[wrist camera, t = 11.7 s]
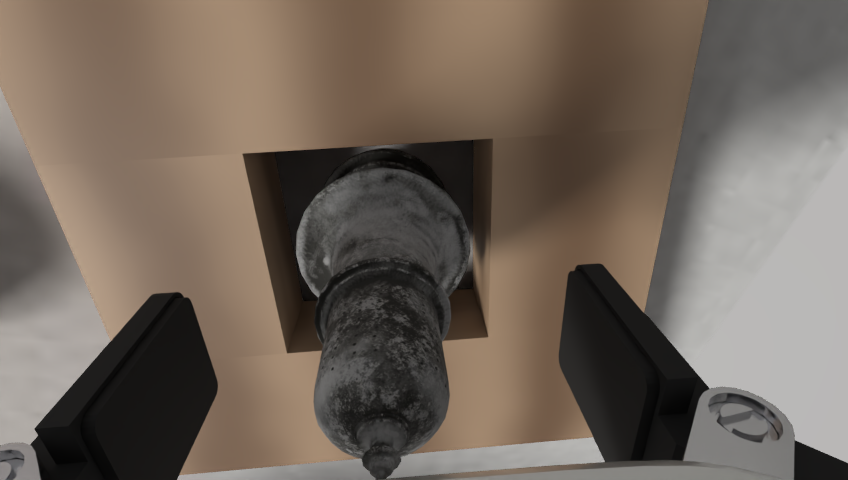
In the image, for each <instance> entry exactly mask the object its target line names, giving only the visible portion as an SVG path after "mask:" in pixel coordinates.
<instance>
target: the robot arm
mask: <svg viewBox="0 0 848 480" xmlns="http://www.w3.org/2000/svg"><path fill="white" fill-rule="evenodd" d="M559 364H560V368H561V370H562V372H563V374H564V377H565V379H566V381H567V383H568V385H569V387H570V389H571V391H572V393H573V395H574V398H575V400H576V402H577V404H578V406H579V408H580V410H581V412H582V414H583V416H584V419H585V421H586V423H587V425H588V427H589V429H590V431H591V433H592V435H593V437H594V439H595V442H596V444H597V446H598V448H599V450H600V452H601V454H602V456H603V458H604V460H605V462H603V463H587V464H571V465H555V466H541V467H529V468H516V469H503V470H490V471H478V472H465V473H452V474H439V475H427V476H415V477H403V478H391V479H379V480H848V463H846V462H844V461H841V460H839V459H837V458H834V457H832V456H830V455H828V454H825V453H823V452H820V451H818V450H816V449H814V448H811V447H809V446H806V445H804V444H802V443H800V442H797V441H795V438H794V437H795V435H794V431H793V427H792V424H791V423H790V422H789V420H788V419H787V417H786V416H785V415H784V414H783V413H782V412H781V411H780V410H779V409H778V408H777V407H775V406H774V405H773V404H771V403H769V402H768V401H766V400H765V399H763V398H762V397H759V396H756V395H755V394H752V393H750V392H748V391H744V390H740V389H737V388H730V387H716V388H711V389H709V387H708V386H707V385H706V384H705V383H704V382H703V380H702V379H701V378H700V377H699V376H698V375H697V373H696V372H695V371H694V370H693V369H692V367H691V366H690V365H689V364H688V363H687V362H686V360H685V359H684V358H683V357H682V356H681V355H680V353H679V352H678V351H677V350H676V349H675V347H674V346H673V345H672V344H671V343H670V342H669V340H668V339H667V338H666V337H665V336H664V335H663V333H662V332H661V331H660V330H659V329H658V328H657V326H656V325H655V324H654V323H653V322H652V321H651V319H650V318H649V317H648V316H647V315H646V314H644V313H643V311H642V310H641V309H640V308H639V307H638V306H637V304H636V303H635V302H634V301H633V300H632V299H631V297H630V296H629V295H628V294H627V293H626V291H625V290H624V289H623V288H622V287H621V286H620V284H619V283H618V282H617V281H616V280H615V278H614V277H613V276H612V275H611V274H610V273H609V271H608V270H607V269H606V268H605V267H604V265H602V264H600V263H597V264H582V265H577V266H576V268H575V271H570V272H569V274H568V279H567V287H566V296H565V304H564V312H563V321H562V329H561V338H560V346H559ZM217 391H218V381H217V378H216V374H215V371H214V368H213V365H212V362H211V359H210V356H209V353H208V350H207V347H206V344H205V341H204V338H203V335H202V332H201V329H200V326H199V323H198V320H197V317H196V314H195V311H194V308H193V305H192V302H191V300H190V299H189V298H187V297H184V296H183V295H182V294H181V293H180V292H171V293H156V294H152V295H151V296H150V297H149V298H148V299H147V300H146V302H145V303H144V304H143V305H142V306H141V307H140V308H139V310H138V311H137V312H136V313H135V314H134V315H133V316H132V318H131V319H130V320H129V321H128V322H127V323H126V324H125V326H124V327H123V328H122V329H121V330H120V331H119V333H118V334H117V335H116V336H115V337H114V338H113V339H112V341H111V342H110V343H109V344H108V345H107V346H106V347H105V349H104V350H103V351H102V352H101V353H100V354H99V355H98V357H97V358H96V359H95V360H94V361H93V362H92V363H91V365H90V366H89V367H88V368H87V369H86V370H85V371H84V373H83V374H82V375H81V376H80V377H79V378H78V379H77V381H76V382H75V383H74V384H73V385H72V386H71V388H70V389H69V390H68V391H67V392H66V393H65V394H64V396H63V397H62V398H61V399H60V400H59V401H58V402H57V404H56V405H55V406H54V407H53V408H52V409H51V410H50V412H49V413H48V414H47V415H46V416H45V417H44V418H43V420H42V421H41V422H40V423H39V424H38V425H37V426H36V428H35V431H36V432H37V434H38V436H37V438H36V439H35V440H34V441H33V442H32V444H31V445H28V444H26V443H8V444H4V445H0V480H177V478H178V476H179V474H180V472H181V470H182V468H183V466H184V463H185V461H186V459H187V457H188V455H189V453H190V451H191V448H192V446H193V444H194V442H195V440H196V438H197V436H198V434H199V431H200V429H201V427H202V425H203V423H204V421H205V419H206V416H207V414H208V412H209V410H210V408H211V406H212V404H213V401H214V399H215V397H216V395H217Z"/></svg>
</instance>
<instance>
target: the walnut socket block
mask: <svg viewBox="0 0 848 480" xmlns="http://www.w3.org/2000/svg"><path fill="white" fill-rule="evenodd" d="M708 2H709V0H0V87H1V89H2V92H3V94H4V96H5V99H6V101H7V103H8V106H9V108H10V110H11V112H12V115H13V117H14V119H15V122H16V124H17V126H18V129H19V131H20V133H21V135H22V138H23V140H24V142H25V145H26V147H27V149H28V152H29V154H30V156H31V158H32V161H33V163H34V165H35V168H36V170H37V172H38V175H39V177H40V179H41V181H42V184H43V186H44V188H45V191H46V193H47V195H48V198H49V200H50V202H51V204H52V207H53V209H54V211H55V214H56V216H57V218H58V221H59V223H60V225H61V227H62V230H63V232H64V234H65V237H66V239H67V241H68V244H69V246H70V248H71V250H72V253H73V255H74V257H75V260H76V262H77V264H78V267H79V269H80V271H81V273H82V276H83V278H84V280H85V283H86V285H87V287H88V290H89V292H90V294H91V296H92V299H93V301H94V303H95V306H96V308H97V310H98V313H99V315H100V317H101V319H102V322H103V324H104V326H105V329H106V331H107V333H108V336H109V338H110V340H111V341H112V339H113V338H114V337H115V336H116V335H117V334H118V333H119V331H120V330H121V329H122V328H123V327H124V326H125V324H126V323H127V322H128V321H129V320H130V319H131V318H132V316H133V315H134V314H135V313H136V312H137V311H138V310H139V308H140V307H141V306H142V305H143V304H144V303H145V302H146V300H147V299H148V298H149V297H150V296H151V295H152V294H156V293H171V292H180V293H181V294H182V295H183V296H184V297H187V298H189V299H190V300H191V302H192V305H193V308H194V311H195V314H196V317H197V320H198V323H199V326H200V329H201V332H202V335H203V338H204V341H205V344H206V347H207V350H208V353H209V356H210V359H211V362H212V365H213V368H214V371H215V374H216V378H217V381H218V391H217V395H216V397H215V399H214V401H213V404H212V406H211V408H210V410H209V412H208V414H207V416H206V419H205V421H204V423H203V425H202V427H201V429H200V431H199V434H198V436H197V438H196V440H195V442H194V444H193V446H192V448H191V451H190V453H189V455H188V457H187V459H186V461H185V463H184V466H183V468H182V470H181V472H180V474H179V475H185V474H196V473H207V472H218V471H229V470H240V469H251V468H262V467H273V466H283V465H294V464H305V463H316V462H327V461H338V460H349V459H360V458H356V457H353V456H351V455H349V454H346V453H344V452H342V451H341V450H340V449H338V448H337V447H336V446H335V445H333V444H332V443H331V442H330V441H329V439H328V438H327V437H326V436H325V434H324V433H323V431H322V430H321V429H320V427H319V426H318V423H317V419H316V416H315V412H314V402H313V401H314V388H315V383H316V378H317V373H318V368H319V363H320V358H321V353H322V348H323V344H322V343H321V341H320V339H319V338H318V336H317V332H316V328H315V324H314V316H315V306H316V303H317V300H315V301H303V299H302V293H301V288H300V283H299V278H298V273H297V267H296V262H295V257H294V252H293V246H292V241H291V236H290V231H289V226H288V220H287V215H286V210H285V205H284V200H283V194H282V189H281V184H280V179H279V173H278V168H277V163H276V158H275V153H274V152H277V151H293V150H310V149H327V148H343V147H360V146H377V145H393V144H410V143H426V142H443V141H460V140H474V162H473V289H461V290H454V292H453V293H452V294H451V295H450V296H449V297H448V298H449V301H450V309H451V321H450V325H449V330H448V333H447V335H446V337H445V338H444V340H443V342H442V346H443V352H444V358H445V363H446V369H447V375H448V381H449V391H450V398H449V406H448V410H447V414H446V418H445V420H444V421H443V423H442V425H441V426H440V428H439V430H438V431H437V432H436V433H435V434H434V436H433V437H432V438H431V439H430V440H429V441H428V442H427V443H426V444H425V445H424V446H422V447H421V448H419V449H417V450H416V451H414V452H412V453H411V454H414V453H425V452H436V451H447V450H458V449H469V448H480V447H491V446H502V445H512V444H523V443H534V442H545V441H556V440H567V439H578V438H589V437H593V435H592V433H591V431H590V429H589V427H588V425H587V423H586V421H585V419H584V416H583V414H582V412H581V410H580V408H579V406H578V404H577V402H576V400H575V398H574V395H573V393H572V391H571V389H570V387H569V385H568V383H567V381H566V379H565V377H564V374H563V372H562V370H561V368H560V364H559V346H560V338H561V329H562V321H563V312H564V304H565V296H566V287H567V279H568V274H569V272H570V271H575V268H576V266H577V265H582V264H597V263H600V264H602V265H604V267H605V268H606V269H607V270H608V271H609V273H610V274H611V275H612V276H613V277H614V278H615V280H616V281H617V282H618V283H619V284H620V286H621V287H622V288H623V289H624V290H625V291H626V293H627V294H628V295H629V296H630V297H631V299H632V300H633V301H634V302H635V303H636V304H637V306H638V307H639V308H640V309H641V310H642V311H643V313H644V311H645V306H646V301H647V297H648V292H649V287H650V282H651V277H652V272H653V268H654V263H655V258H656V253H657V248H658V244H659V239H660V234H661V229H662V224H663V219H664V215H665V210H666V205H667V200H668V195H669V190H670V186H671V181H672V176H673V171H674V166H675V161H676V157H677V152H678V147H679V142H680V137H681V132H682V128H683V123H684V118H685V113H686V108H687V104H688V99H689V94H690V89H691V84H692V79H693V75H694V70H695V65H696V60H697V55H698V50H699V46H700V41H701V36H702V31H703V26H704V21H705V17H706V12H707V7H708Z"/></svg>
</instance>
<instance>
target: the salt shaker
mask: <svg viewBox="0 0 848 480" xmlns="http://www.w3.org/2000/svg"><path fill="white" fill-rule="evenodd" d="M469 254H470V242H469V231H468V228H467V226H466V223H465V220H464V218H463V215H462V212H461V210H460V209H459V208H458V206H457V205H456V204H455V202H454V201H453V200H452V198H451V197H450V196H449V194H448V193H447V192H445V190H444V187H443V185H442V182H441V181H440V179H439V178H438V177H437V175H436V174H435V173H434V172H433V170H432V169H431V168H430V167H428V166H427V165H426V164H424V163H423V162H422V161H420V160H419V159H418V158H415V157H413V156H411V155H408V154H406V153H403V152H399V151H392V150H384V149H383V150H375V151H367V152H364V153H361V154H359V155H357V156H354V157H352V158H349V159H348V160H347V161H345V162H344V163H343V164H342V165H340V166H339V167H338V168H336V169H335V171H334V172H333V173H332V175H331V176H330V178H329V179H328V180H327V182H326V183H325V186H324V189H323V190H322V191H321V192H319V193H318V194H317V195H316V197H315V198H314V199H313V201H312V202H311V203H310V205H309V206H308V207H307V209H306V210H305V212H304V214H303V217H302V219H301V222H300V225H299V228H298V231H297V237H296V256H297V260H298V264H299V267H300V271H301V274H302V276H303V278H304V279H305V281H306V283H307V284H308V286H309V288H310V289H311V291H312V292H313V293H314V294H315V295H316V296H317V297H318V300H317V303H316V306H315V316H314V324H315V328H316V332H317V336H318V338H319V339H320V341H321V343H322V344H323V348H322V353H321V358H320V363H319V368H318V373H317V378H316V383H315V388H314V401H313V402H314V412H315V416H316V419H317V423H318V426H319V427H320V429H321V430H322V431H323V433H324V434H325V436H326V437H327V438H328V439H329V441H330V442H331V443H332V444H333V445H335V446H336V447H337V448H338V449H340V450H341V451H342V452H344V453H346V454H349V455H351V456H353V457H356V458H360V459H362V462H363V466H364V467H365V468H366V469H367V470H368V471H370V474H371V475H372V476H373V477H375V478H376V479H377V480H379V479H386V478H387V477H388V476H390V475H391V474H392V472H393V470H394V469H396V468H397V467H398V465H399V464H400V462H401V458H400V457H402V456H405V455H408V454H411V453H412V452H414V451H416V450H417V449H419V448H421V447H422V446H424V445H425V444H426V443H427V442H428V441H429V440H430V439H431V438H432V437H433V436H434V434H435V433H436V432H437V431H438V430H439V428H440V426H441V425H442V423H443V421H444V420H445V418H446V414H447V410H448V406H449V398H450V391H449V381H448V375H447V369H446V363H445V358H444V352H443V346H442V342H443V340H444V338H445V337H446V335H447V333H448V330H449V325H450V321H451V309H450V301H449V298H448V297H449V296H450V295H451V294H452V293H453V292H454V290H455V289H456V288H457V286H458V285H459V283H460V281H461V279H462V277H463V275H464V273H465V272H466V268H467V264H468V259H469Z"/></svg>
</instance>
